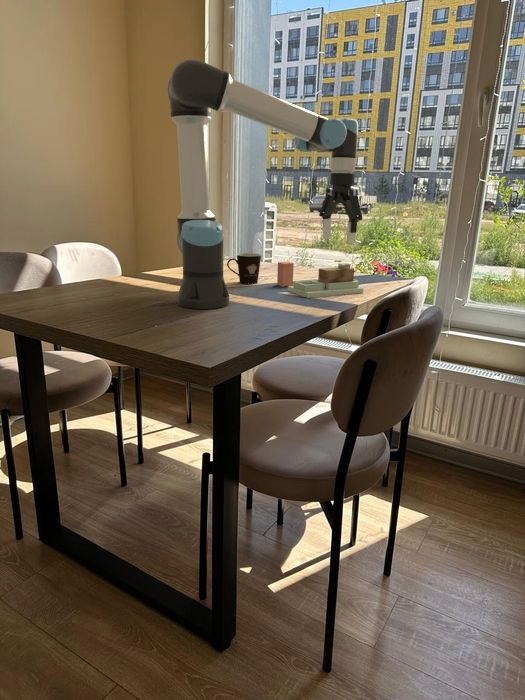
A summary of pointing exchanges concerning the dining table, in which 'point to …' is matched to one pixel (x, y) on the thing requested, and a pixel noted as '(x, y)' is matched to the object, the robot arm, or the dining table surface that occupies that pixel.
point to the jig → (318, 288)
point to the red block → (285, 274)
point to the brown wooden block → (336, 274)
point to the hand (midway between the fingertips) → (338, 241)
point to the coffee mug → (247, 267)
